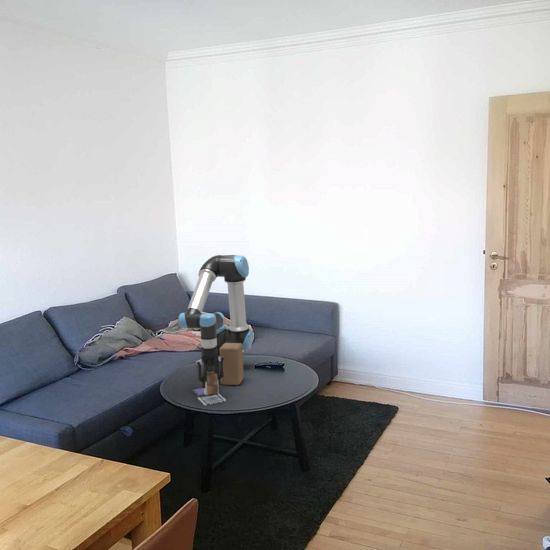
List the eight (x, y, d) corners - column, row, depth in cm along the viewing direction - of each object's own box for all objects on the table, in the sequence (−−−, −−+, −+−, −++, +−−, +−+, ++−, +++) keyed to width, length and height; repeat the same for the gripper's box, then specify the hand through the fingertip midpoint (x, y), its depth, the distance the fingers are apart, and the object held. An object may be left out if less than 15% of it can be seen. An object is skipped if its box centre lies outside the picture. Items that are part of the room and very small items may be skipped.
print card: (218, 394, 286) (218, 393, 286) (226, 400, 277) (226, 399, 277) (197, 398, 281) (197, 397, 281) (204, 405, 272) (204, 404, 272)
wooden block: (239, 385, 296) (237, 348, 293) (220, 385, 298) (218, 347, 295) (244, 379, 306) (242, 342, 303) (226, 378, 308) (224, 342, 305)
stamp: (214, 391, 281) (213, 371, 280) (218, 394, 277) (217, 374, 275) (204, 392, 279) (203, 373, 278) (208, 396, 275) (207, 376, 273)
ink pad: (209, 388, 294) (209, 386, 294) (216, 394, 286) (216, 391, 286) (193, 391, 290) (192, 389, 290) (198, 397, 282) (198, 395, 282)
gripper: (193, 351, 267) (196, 399, 271) (229, 345, 275) (231, 392, 279) (188, 347, 274) (191, 394, 277) (223, 341, 282) (226, 387, 285)
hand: (211, 393), depth 278 cm, fingers closed on stamp, 5 cm apart
